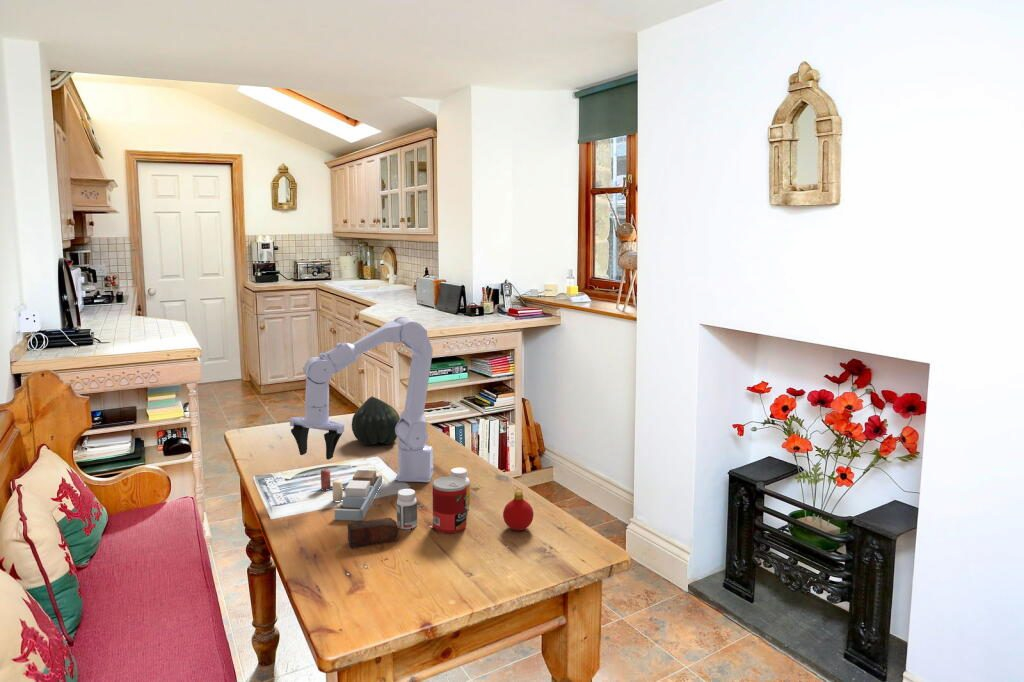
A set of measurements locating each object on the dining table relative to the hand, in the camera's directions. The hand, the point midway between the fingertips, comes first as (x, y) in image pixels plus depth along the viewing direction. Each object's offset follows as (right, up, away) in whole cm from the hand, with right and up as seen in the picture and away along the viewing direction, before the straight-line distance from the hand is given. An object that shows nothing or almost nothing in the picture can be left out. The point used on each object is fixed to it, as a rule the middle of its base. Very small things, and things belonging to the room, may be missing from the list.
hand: (316, 456), depth 184 cm
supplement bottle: (+37, -12, -5) cm, 39 cm away
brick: (+19, -16, -24) cm, 34 cm away
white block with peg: (+9, -11, -3) cm, 15 cm away
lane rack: (+12, -11, -3) cm, 16 cm away
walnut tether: (+7, -10, +5) cm, 13 cm away
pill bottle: (+26, -14, -16) cm, 33 cm away
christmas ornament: (+52, -15, -16) cm, 56 cm away
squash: (+7, -3, +42) cm, 43 cm away
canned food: (+36, -14, -16) cm, 41 cm away
